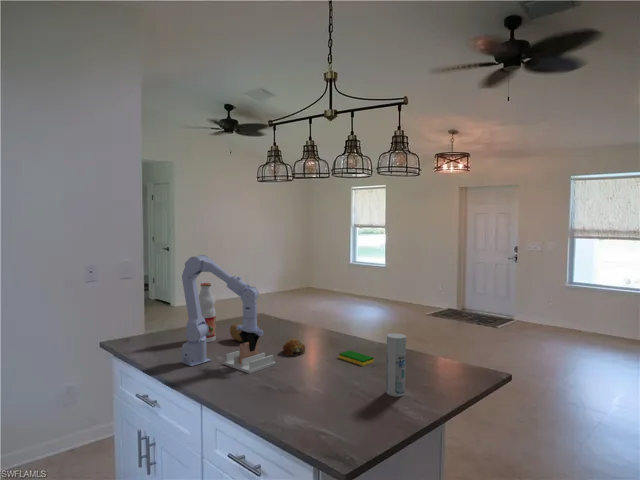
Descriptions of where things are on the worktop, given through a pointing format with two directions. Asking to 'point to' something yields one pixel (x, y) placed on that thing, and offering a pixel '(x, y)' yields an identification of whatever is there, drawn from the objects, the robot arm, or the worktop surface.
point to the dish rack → (249, 362)
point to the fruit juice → (208, 310)
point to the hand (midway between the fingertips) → (249, 350)
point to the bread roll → (293, 347)
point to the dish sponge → (356, 357)
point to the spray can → (396, 364)
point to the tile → (248, 350)
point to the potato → (235, 332)
